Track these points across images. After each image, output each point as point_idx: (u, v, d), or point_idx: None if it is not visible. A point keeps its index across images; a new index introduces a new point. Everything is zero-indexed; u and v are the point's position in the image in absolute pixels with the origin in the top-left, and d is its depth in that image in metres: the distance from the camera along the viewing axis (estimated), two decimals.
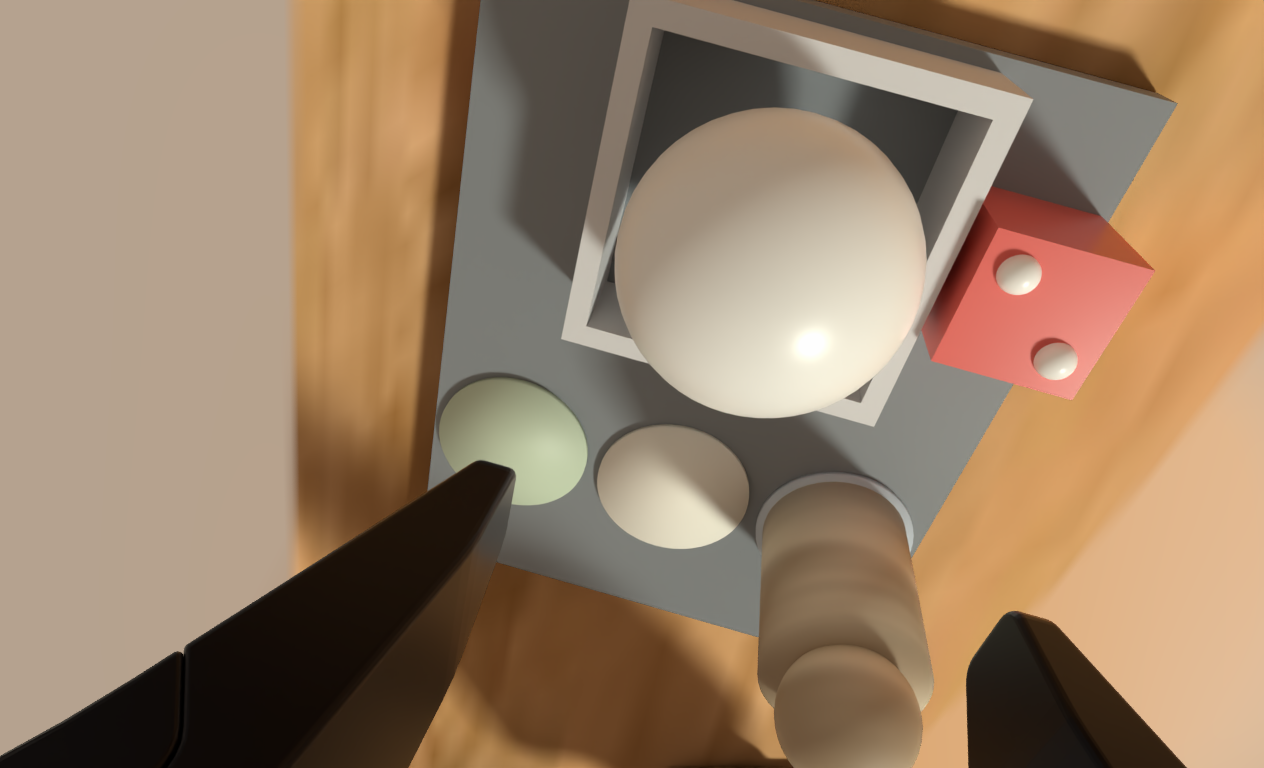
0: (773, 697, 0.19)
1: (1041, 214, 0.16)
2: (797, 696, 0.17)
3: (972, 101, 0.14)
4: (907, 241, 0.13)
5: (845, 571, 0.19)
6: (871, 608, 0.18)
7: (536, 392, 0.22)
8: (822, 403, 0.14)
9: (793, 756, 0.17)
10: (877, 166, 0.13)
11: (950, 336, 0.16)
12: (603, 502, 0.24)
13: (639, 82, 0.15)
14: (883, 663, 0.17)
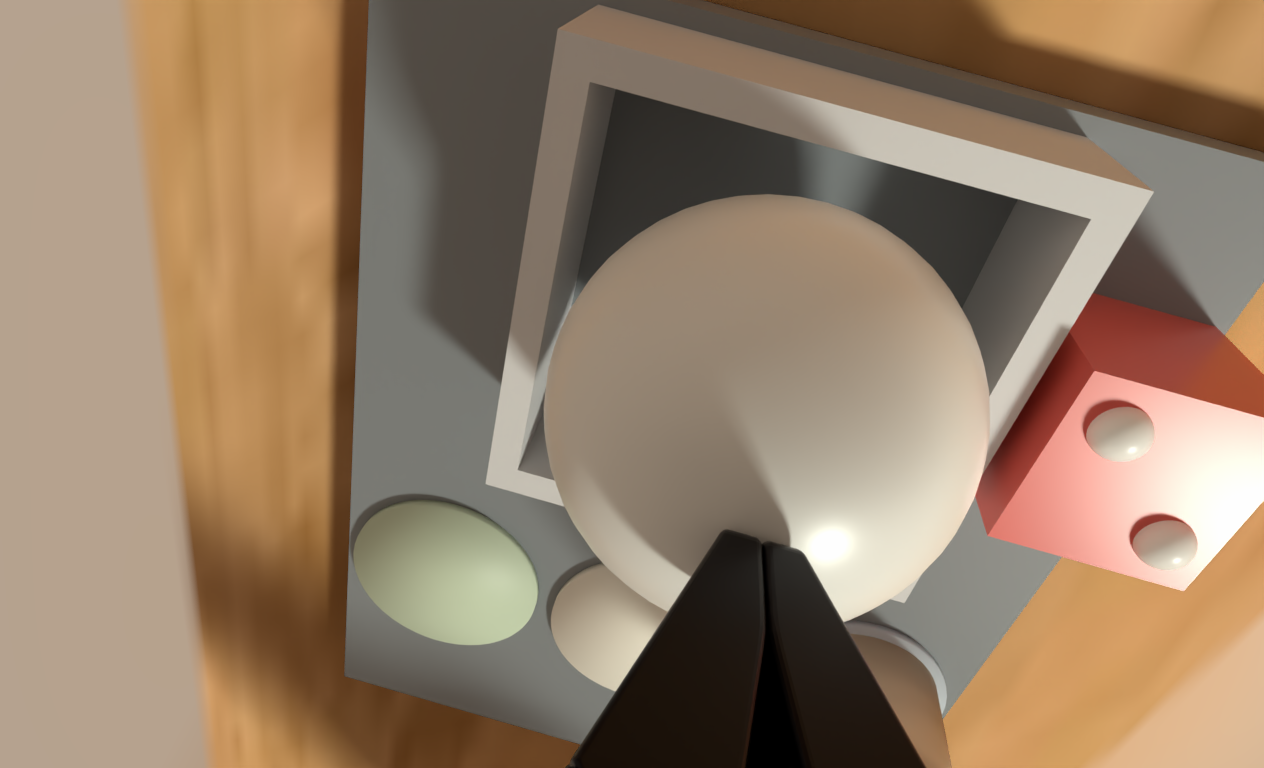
0: None
1: (1142, 334, 0.12)
2: None
3: (1062, 193, 0.10)
4: (967, 409, 0.08)
5: None
6: None
7: (470, 520, 0.17)
8: None
9: None
10: (923, 294, 0.09)
11: (1016, 506, 0.12)
12: (559, 645, 0.19)
13: (575, 158, 0.10)
14: None
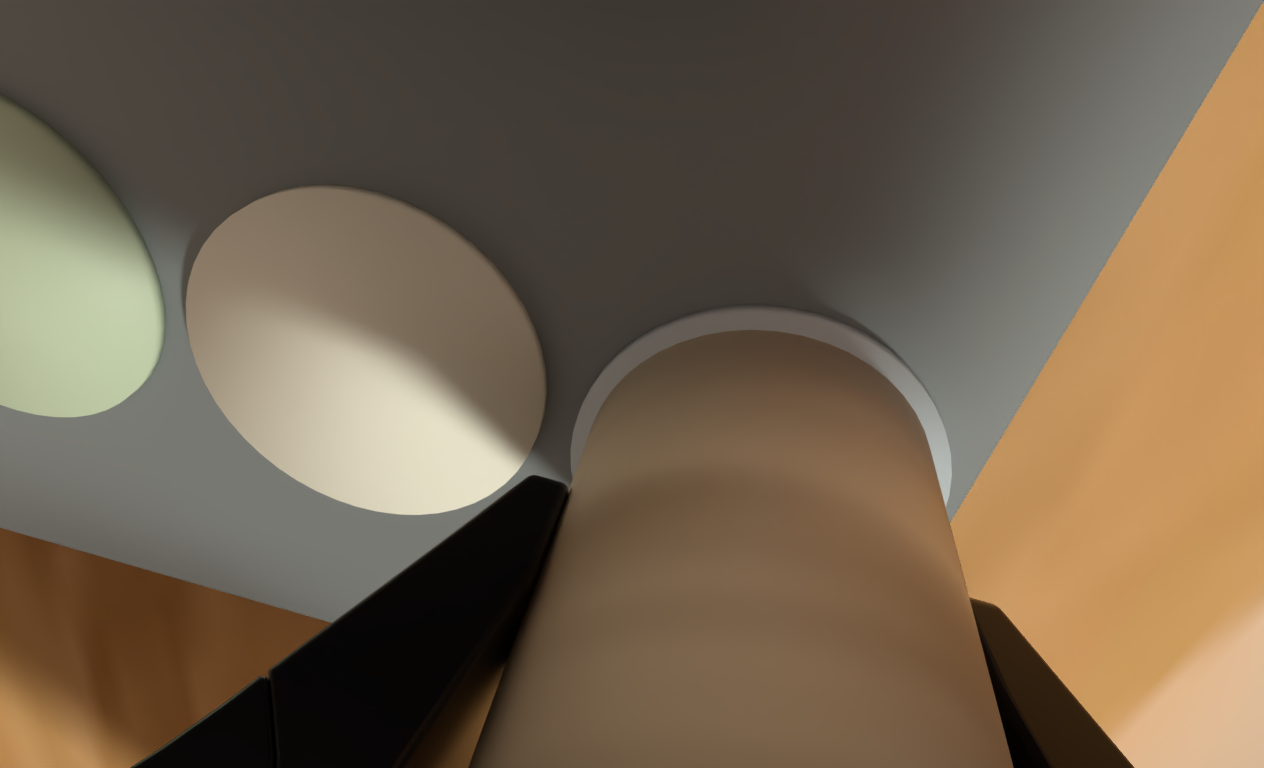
0: None
1: None
2: None
3: None
4: None
5: (738, 562, 0.05)
6: (821, 710, 0.04)
7: None
8: None
9: None
10: None
11: None
12: (221, 405, 0.10)
13: None
14: None
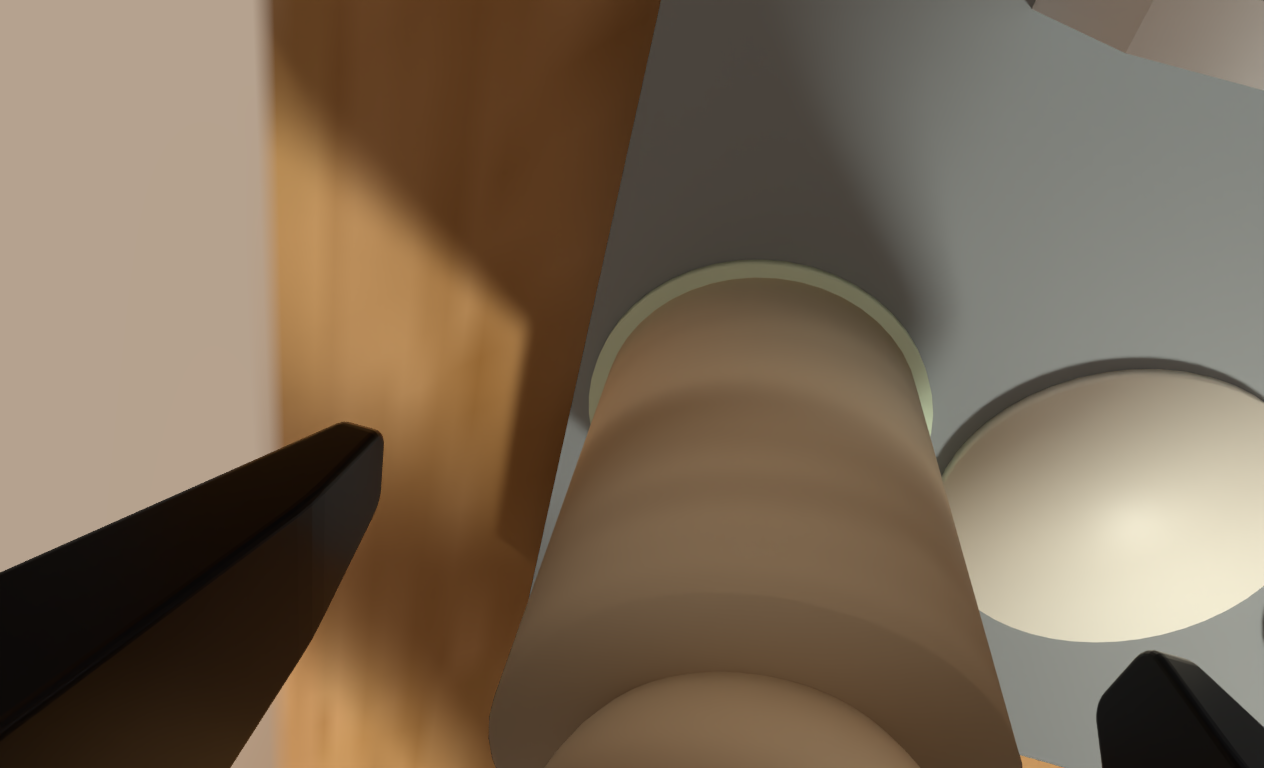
0: None
1: None
2: None
3: None
4: None
5: (748, 451, 0.06)
6: (819, 554, 0.05)
7: (840, 293, 0.09)
8: None
9: None
10: None
11: None
12: None
13: None
14: (857, 743, 0.05)
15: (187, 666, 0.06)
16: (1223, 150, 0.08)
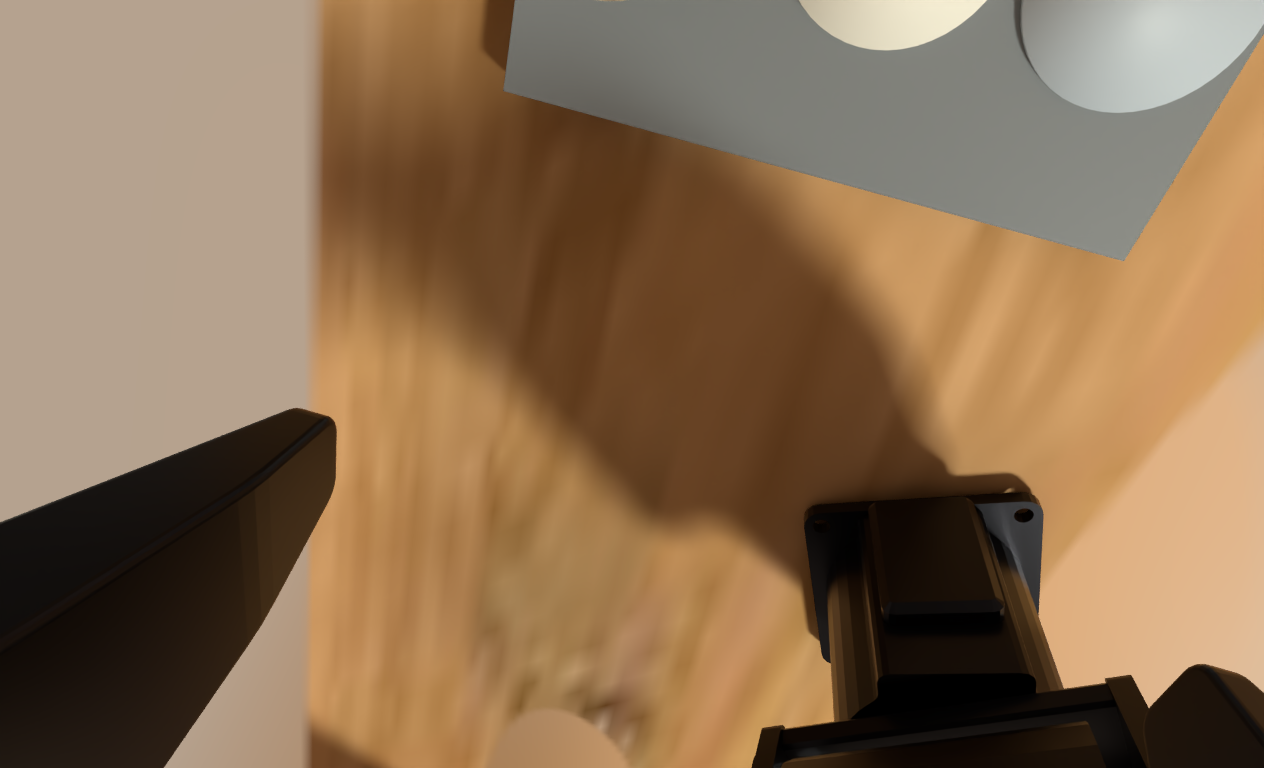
0: None
1: None
2: None
3: None
4: None
5: None
6: None
7: None
8: None
9: None
10: None
11: None
12: None
13: None
14: None
15: (120, 647, 0.06)
16: None
